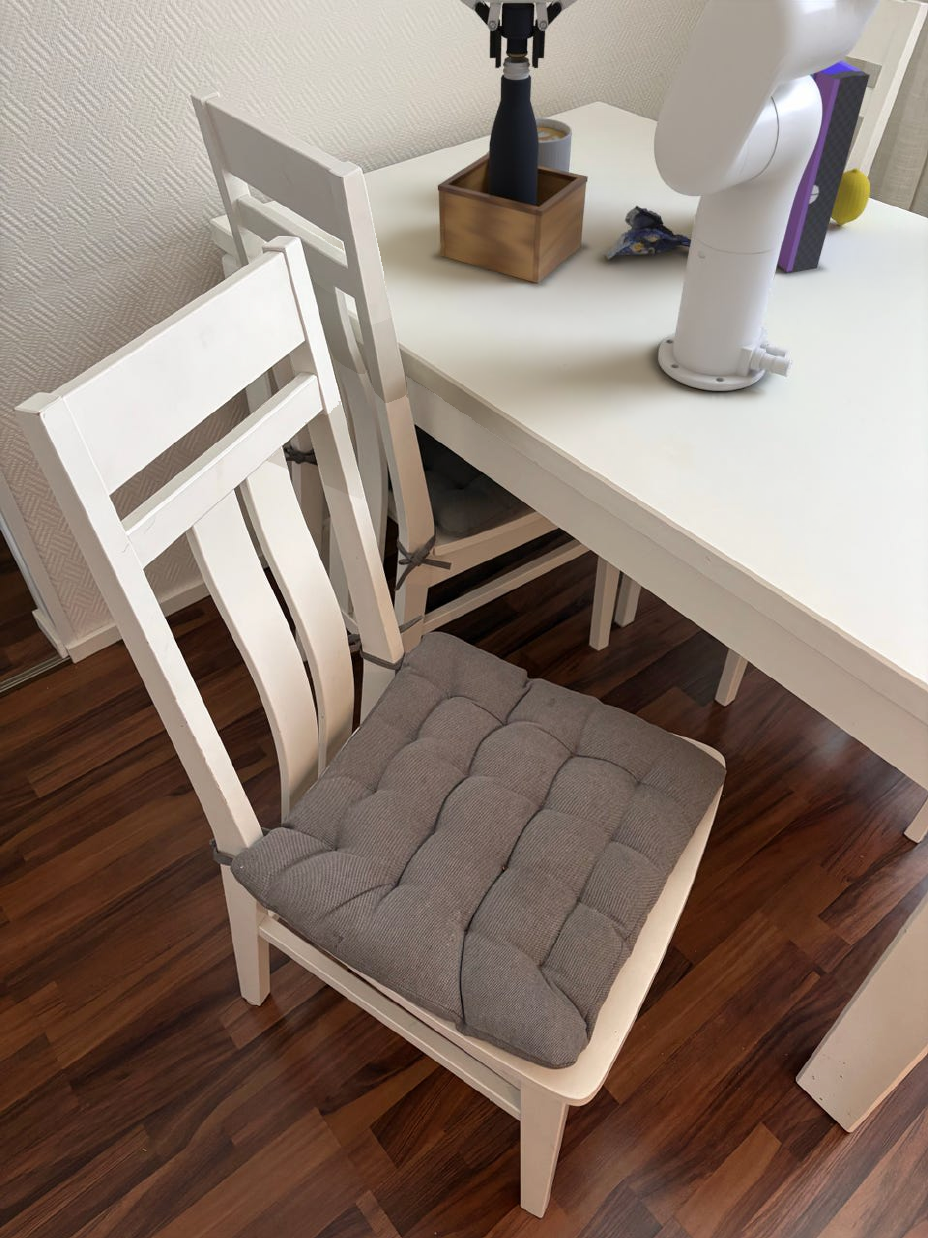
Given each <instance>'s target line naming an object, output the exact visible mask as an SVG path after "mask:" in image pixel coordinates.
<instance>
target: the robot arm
mask: <svg viewBox="0 0 928 1238" xmlns="http://www.w3.org/2000/svg"><path fill="white" fill-rule="evenodd" d="M459 1H460V2H461V3H462V4H464V5H465V6H467V8H469V9H470V10H472V11H474V12H475V13H476V15H477V16H478V17H479V18H480V19H481V21H483V23H484V24H485V25H486V26H487V28H488V30H489V59H495V61H494V68H495V69H500V68H501V67H502V45H503V44H502V39H503V37H502V29H501V20H500V14H501V10H502V4H503V3H534V4H535V12H536V19H534V29H533V37H532V44H531V45H532V46H531V48H532V49H531V67H532V68H533V69H539V59H545V47H546V45H545V44H546V30H547V29H548V28H549V26H550V24H552V23H553V21H554V20H556V19H557V17H559V15H560V14H561V13H562V12H564V11H565V10H567V8H570V7H571V6H572V5H574V4H575V3H576V2H578V0H459ZM882 1H883V0H708V1H707V2H706V4H705V7H704V8H703V11H701V14H700V16H699V19H698V21H697V22H696V26H695V27H694V30H693V32H692V34H691V36H690V40H689V42H688V44H687V47H686V48H685V51H684V53H683V56H682V58H681V61H680V63H679V65H678V67H677V70H676V73H675V74H674V77H673V80H672V82H671V85H670V86H669V89H668V92H667V93H666V97H665V98H664V101H663V103H662V106H661V109H660V111H659V116H658V118H657V122H656V126H655V131H654V138H653V139H654V140H653V154H654V162H655V165H656V169H657V171H658V174H659V177H661V179H662V180H663V182H664V183H665V185H666V186H667V187H669V188H670V189H671V190H672V191H673V192H676V193H677V194H680V195H683V196H688V197H700V198H699V201H698V204H697V208H696V211H695V216H694V222H693V227H692V233H691V238H690V239H691V244H690V247H689V250H688V255H687V262H686V267H685V274H684V279H683V286H682V292H681V299H680V302H679V303H680V304H679V309H678V315H677V321H676V327H675V332H673V333H672V334H670V335H668V336H666V337H665V338H664V339H663V341H662V342H661V343H660V345H659V348H658V355H657V360H658V364H659V366H660V367H661V370H663V372H665V374H666V375H668V376H669V377H670V378H672V379H673V380H675V381H677V382H679V383H681V384H683V385H686V386H688V387H692V388H695V389H700V390H705V391H716V392H717V391H719V392H725V391H726V392H727V391H734V390H739V389H743V388H747V387H749V386H751V385H753V384H756V383H757V382H758V381H759V380H760V379H762V377H763V376H764V374H765V373H766V371H768V372H770V373H772V374H775V375H779V376H782V377H787V376H788V375H789V373H790V370H791V369H792V366H793V359H792V358H788V354H789V348H784V347H782V346H776V345H772V344H770V341H767V336H768V333H769V328H766V327H763V325H764V320H765V316H766V311H767V308H768V304H769V300H770V295H771V291H772V287H773V284H774V279H775V278H774V277H775V275H776V270H777V268H778V266H777V263H778V258H779V254H780V250H781V246H782V242H783V239H784V235H785V231H786V227H787V223H788V219H789V215H790V211H791V208H792V204H793V201H794V197H795V194H796V192H797V189H798V186H799V183H800V181H801V178H802V176H803V173H804V171H805V169H806V166H807V164H808V162H809V159H810V157H811V154H812V152H813V150H814V147H815V144H816V141H817V138H818V135H819V131H820V126H821V120H822V101H821V96H820V92H819V89H818V87H817V85H816V83H815V81H814V80H813V79H812V77H811V76H810V75H811V74H814V73H816V72H819V71H822V70H824V69H827V68H828V67H830V66H832V65H834V64H836V63H838V62H839V61H841V60H842V61H843V60H844V59H845V58H846V57H848V55H849V54H850V53H851V52H852V50H853V49H854V47H855V46H856V45H857V43H858V42H859V41H860V39H861V37H862V36H863V34H864V32H865V30H866V28H867V27H868V25H869V23H870V21H871V19H873V16H874V14H875V13H876V11H877V9H878V8H879V6H880V4H881V2H882ZM487 3H489V5H488V4H487ZM548 3H550V4H548ZM547 4H548V5H547Z"/></svg>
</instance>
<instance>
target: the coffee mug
mask: <svg viewBox="0 0 928 1238" xmlns="http://www.w3.org/2000/svg"><path fill="white" fill-rule="evenodd" d="M535 120H536V125H537V131H538V140H539V152H538V165H539V166H543V167H548V168H552V169H556V170H561V171H565V172H569V173H570V166H571V165H570V164H571V151H572V139H573V138H572V137H573V129H572V127H571V126H570V125H569V124H567V123H566V122H563V121H561V120H558V119H555V118H554V119H553V118H547V117H535ZM486 154H489V150H488V151H487V152H486Z"/></svg>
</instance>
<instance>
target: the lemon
mask: <svg viewBox="0 0 928 1238" xmlns="http://www.w3.org/2000/svg"><path fill="white" fill-rule="evenodd" d="M870 194H871V183H870V180H869V178H868V177H867V175H866V174H865V173H863V172H862V171H861V170H860V169H859V168H856V167H855V168H853V169H850V170H847V171H843V175H842V178H841V182H840V186H839V189H838V193H837V197H836V200H835V204H834V208H833V211H832V215H831V218H830V219H832V220H833V221H835V222H836V224H837V225H838V226H841V227H842V226H844V225H845V224H847V223H851V222H853V221H855V220H857V219H858V218H859V217H861V215H862V214H863V213H864V211H865V209H866V208H867V205H868V203H869V200H870Z"/></svg>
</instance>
